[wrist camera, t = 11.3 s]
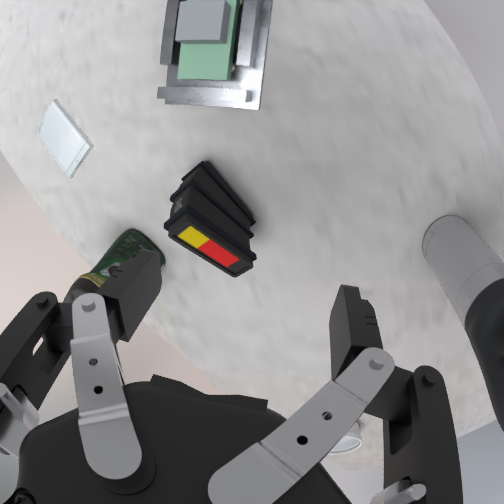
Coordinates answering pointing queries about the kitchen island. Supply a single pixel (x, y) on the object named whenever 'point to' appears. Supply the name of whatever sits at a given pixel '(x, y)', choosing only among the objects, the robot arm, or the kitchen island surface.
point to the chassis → (243, 67)
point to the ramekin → (348, 441)
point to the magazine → (212, 221)
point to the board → (210, 55)
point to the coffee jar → (111, 263)
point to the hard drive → (63, 138)
